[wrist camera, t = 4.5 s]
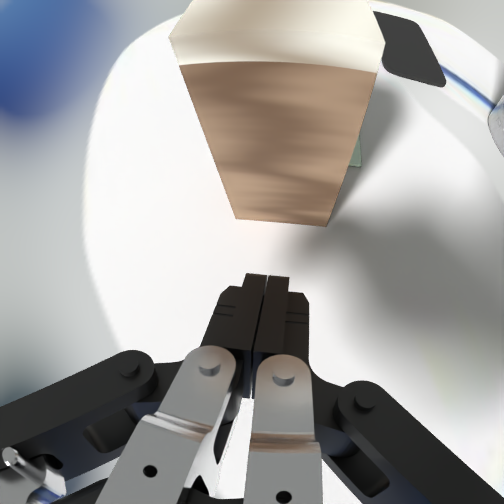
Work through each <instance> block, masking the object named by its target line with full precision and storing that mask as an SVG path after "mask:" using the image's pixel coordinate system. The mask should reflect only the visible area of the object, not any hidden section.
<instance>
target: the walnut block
mask: <svg viewBox="0 0 504 504" xmlns="http://www.w3.org/2000/svg"><path fill="white" fill-rule="evenodd" d="M169 40H170V43H171V45H172V48H173V51H174V54H175V56H176V59H177V62H178V64H179V67H180V70H181V73H182V75H183V78H184V81H185V83H186V86H187V89H188V92H189V94H190V97H191V100H192V102H193V105H194V108H195V111H196V113H197V116H198V119H199V121H200V124H201V127H202V129H203V132H204V135H205V137H206V140H207V143H208V146H209V148H210V151H211V154H212V156H213V159H214V162H215V164H216V167H217V170H218V172H219V175H220V178H221V180H222V183H223V186H224V189H225V191H226V194H227V197H228V199H229V202H230V205H231V207H232V210H233V213H234V215H235V218H236V219H244V220H256V221H268V222H280V223H291V224H302V225H312V226H322V227H326V226H327V223H328V221H329V218H330V215H331V213H332V210H333V207H334V204H335V202H336V199H337V196H338V194H339V191H340V188H341V185H342V182H343V180H344V177H345V174H346V171H347V168H348V165H349V162H350V159H351V156H352V153H353V150H354V147H355V144H356V141H357V138H358V135H359V132H360V129H361V126H362V123H363V120H364V116H365V113H366V110H367V107H368V103H369V100H370V97H371V93H372V90H373V87H374V83H375V80H376V76H377V73H378V69H379V65H380V62H381V58H382V54H383V50H384V47H385V41H384V38H383V35H382V33H381V30H380V28H379V25H378V23H377V20H376V18H375V16H374V13H373V11H372V9H371V6H370V4H369V2H368V0H193V1H192V2H191V4H190V5H189V7H188V8H187V9H186V11H185V12H184V14H183V15H182V17H181V18H180V20H179V21H178V23H177V24H176V26H175V27H174V29H173V30H172V32H171V33H170V35H169Z"/></svg>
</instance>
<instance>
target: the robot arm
mask: <svg viewBox="0 0 504 504" xmlns="http://www.w3.org/2000/svg"><path fill="white" fill-rule="evenodd" d="M488 124H489V129H490V132H491V135H492V137H493V139H494V141H495V143H496V145H497V147H498V149H499V150H500V152H501V153H502V155H503V156H504V95H503V96H502V98H501V99H500V101H499V102H498V104H497V105H496V106H495V108H494V109H493V111H492V112H491V114H490V115H489V118H488ZM288 287H289V277H282V276H271V275H269V276H268V281H267V275H260V274H250V273H246V275H245V279H244V282H243V285H242V287H238V286H229V287H228V288H227V289H226V290H224V291H223V292H222V293H221V294H220V297H219V299H218V302H217V306H216V307H215V309H214V312H213V315H212V317H211V319H210V322H209V325H208V327H207V330H206V332H205V335H204V337H203V340H202V342H201V345H200V347H199V348H196V349H194V350H193V351H191V352H190V353H189V354H188V355H187V356H186V358H185V359H184V360H182V361H179V362H172V363H153V360H152V359H151V357H150V356H149V355H147V354H146V353H144V352H142V351H138V350H128V351H123V352H121V353H118V354H116V355H114V356H112V357H110V358H108V359H106V360H104V361H102V362H100V363H98V364H95V365H93V366H91V367H89V368H87V369H85V370H83V371H80V372H78V373H76V374H74V375H72V376H69V377H67V378H65V379H63V380H61V381H59V382H56V383H54V384H52V385H50V386H47V387H45V388H43V389H41V390H39V391H36V392H34V393H32V394H29V395H27V396H25V397H23V398H20V399H18V400H16V401H13V402H11V403H9V404H6V405H4V406H1V407H0V504H323V492H322V461H321V458H322V459H323V460H324V462H325V463H326V464H327V465H328V466H329V467H330V468H331V470H332V471H333V472H334V473H335V474H336V475H337V476H338V478H339V479H340V480H341V481H342V482H343V483H344V484H345V485H346V486H347V487H348V489H349V490H350V491H351V492H352V493H353V494H354V495H355V496H356V497H357V498H358V499H359V500H360V501H361V503H362V504H504V498H503V497H502V496H501V495H500V494H499V493H498V492H497V491H495V490H494V489H493V488H492V487H491V486H490V485H489V484H487V483H486V482H485V481H484V480H483V479H482V478H481V477H480V476H478V475H477V474H476V473H475V472H474V471H473V470H472V469H471V468H470V467H468V466H467V465H466V464H465V463H464V462H463V461H462V460H461V459H459V458H458V457H457V456H456V455H455V454H454V453H453V452H452V451H451V450H449V449H448V448H447V447H446V446H445V445H444V444H443V443H442V442H441V441H440V440H438V439H437V438H436V437H435V436H434V435H433V434H432V433H431V432H430V431H429V430H427V429H426V428H425V427H424V426H423V425H422V424H421V423H420V422H419V421H418V420H416V419H415V418H414V417H413V416H412V415H411V414H410V413H409V412H408V411H407V410H406V409H404V408H403V407H402V406H401V405H400V404H399V403H398V402H397V401H396V400H395V399H394V398H393V397H391V396H390V395H389V394H388V393H387V392H386V391H385V390H384V389H383V388H381V387H380V386H379V385H377V384H375V383H373V382H369V381H354V382H351V383H349V384H347V385H346V386H345V387H341V386H338V385H335V384H332V383H329V382H326V381H324V380H322V379H321V378H319V377H318V376H317V375H316V374H315V373H314V372H313V371H312V369H311V367H310V365H309V302H308V300H307V299H306V297H305V295H304V294H303V293H298V292H288ZM251 389H252V399H254V409H253V420H252V430H251V439H250V445H249V455H248V464H247V474H246V483H245V493H244V498H239V499H216V498H214V495H215V492H216V489H217V486H218V482H219V477H220V470H221V466H222V463H223V460H224V457H225V454H226V451H227V448H228V445H229V442H230V439H231V436H232V433H233V430H234V427H235V424H236V421H237V417H238V412H239V409H240V404H241V400H242V398H249V399H250V394H251ZM119 456H120V458H119V460H118V461H117V463H116V465H115V467H114V469H113V471H112V473H111V474H110V476H109V478H105V479H102V480H99V481H97V482H95V483H93V484H91V485H89V486H87V487H85V488H83V489H81V490H79V491H77V492H75V493H72V494H70V495H68V496H66V497H64V496H65V494H66V488H65V481H67V480H69V479H72V478H74V477H77V476H79V475H81V474H83V473H86V472H88V471H90V470H92V469H95V468H97V467H99V466H101V465H103V464H105V463H107V462H109V461H111V460H113V459H115V458H117V457H119ZM61 497H63V498H61ZM58 498H61V499H59V500H57V499H58ZM55 500H57V501H55Z"/></svg>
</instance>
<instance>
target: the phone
mask: <svg viewBox="0 0 504 504" xmlns="http://www.w3.org/2000/svg"><path fill="white" fill-rule="evenodd" d="M373 13H374V16H375V18H376V20H377V23H378V25H379V28H380V30H381V33H382V35H383V38H384V41H385V47H384V50H383V54H382V58H381V59H382V63H383V66H384V68H385V69H386V70H387V71H388V72H390V73H392V74H394V75H397V76H398V77H402V78H406V79H410V80H414V81H418V82H421V83H425V84H428V85H431V86H433V85H434V86H438V87H444V86H445V84H446V79H445V76H444V74H443V72H442V70H441V67H440V65H439V63H438V61H437V59H436V57H435V55H434V53H433V51H432V49H431V47H430V45H429V43H428V41H427V39H426V37H425V35H424V34H423V32H422V30H421V28H420V27H419V25H418V24H417V23H415V22H413V21H411V20H408V19H404V18H401V17H397V16H393V15H389V14H385V13H380V12H376V11H373Z"/></svg>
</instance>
